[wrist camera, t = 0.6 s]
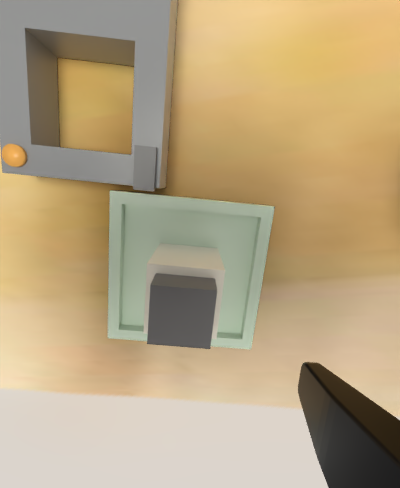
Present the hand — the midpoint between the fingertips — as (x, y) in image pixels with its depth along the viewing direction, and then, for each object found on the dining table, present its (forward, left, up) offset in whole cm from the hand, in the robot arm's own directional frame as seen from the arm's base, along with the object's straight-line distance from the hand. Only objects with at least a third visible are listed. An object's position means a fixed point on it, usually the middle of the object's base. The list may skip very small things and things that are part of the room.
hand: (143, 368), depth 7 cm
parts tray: (-1, +1, -12) cm, 12 cm away
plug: (-1, +1, -11) cm, 12 cm away
